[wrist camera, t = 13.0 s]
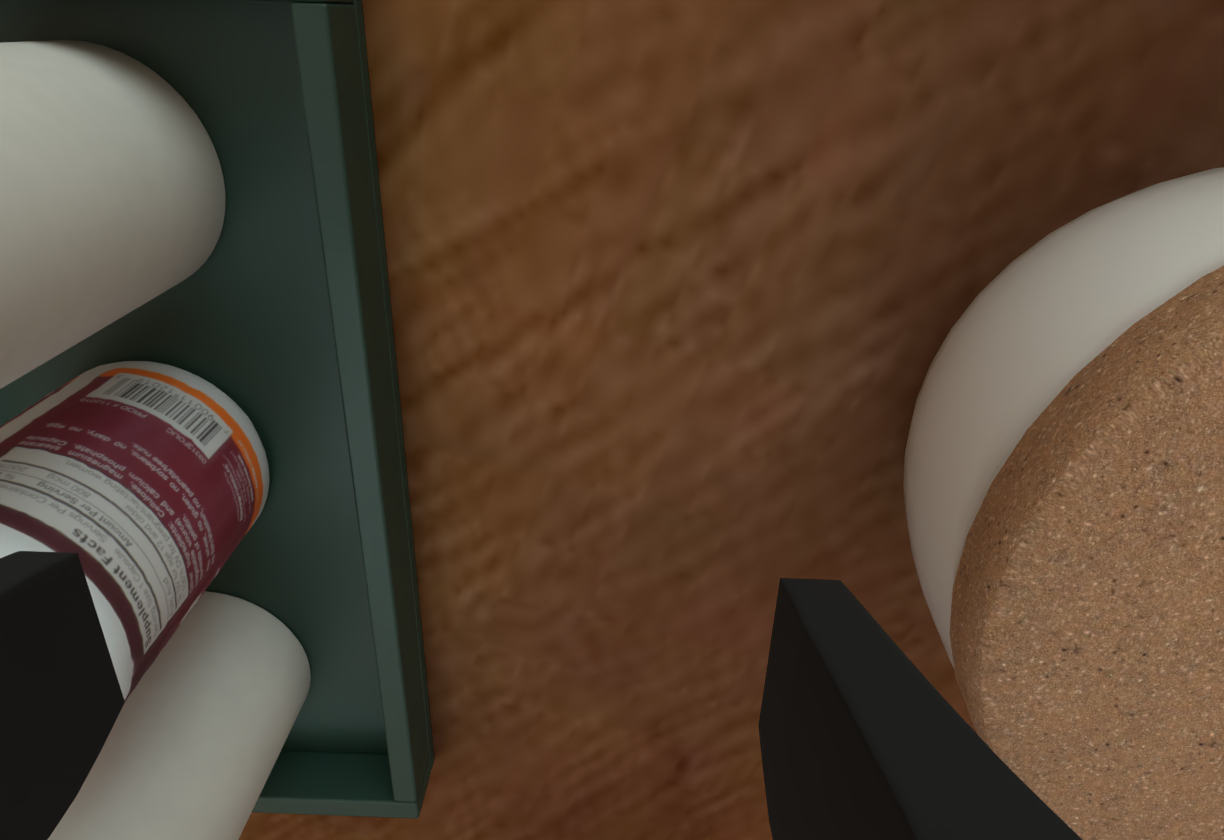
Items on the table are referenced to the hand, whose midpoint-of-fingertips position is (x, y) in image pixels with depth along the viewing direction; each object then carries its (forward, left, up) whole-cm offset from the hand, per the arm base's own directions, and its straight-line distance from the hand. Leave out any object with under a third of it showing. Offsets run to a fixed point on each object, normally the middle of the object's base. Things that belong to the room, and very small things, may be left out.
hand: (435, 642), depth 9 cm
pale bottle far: (-9, +8, -9) cm, 15 cm away
